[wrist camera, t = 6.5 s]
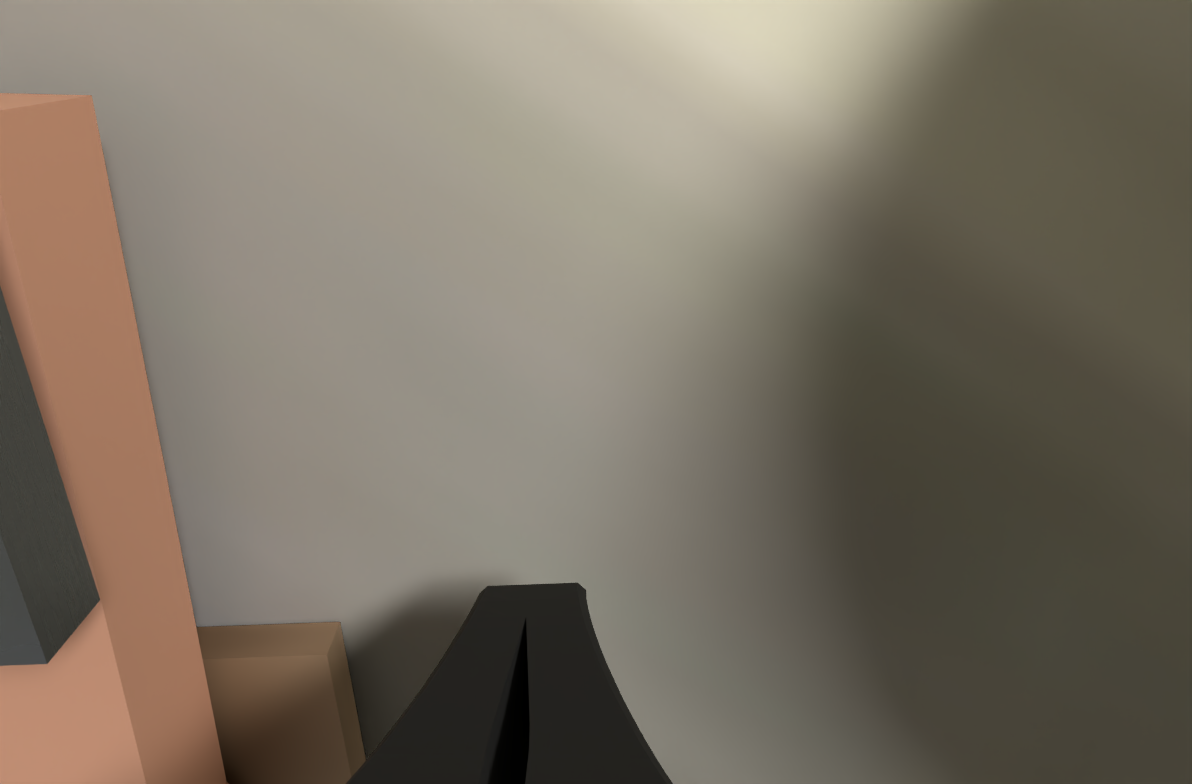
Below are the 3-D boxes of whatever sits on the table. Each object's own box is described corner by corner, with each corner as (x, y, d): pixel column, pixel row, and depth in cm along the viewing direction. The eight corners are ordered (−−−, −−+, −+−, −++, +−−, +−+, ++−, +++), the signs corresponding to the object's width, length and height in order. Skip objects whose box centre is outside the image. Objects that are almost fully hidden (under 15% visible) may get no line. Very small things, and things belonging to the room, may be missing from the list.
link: (281, 918, 16) (211, 1128, 13) (55, 918, 15) (-69, 1129, 13) (135, 96, 10) (-52, 131, 7) (-220, 88, 10) (-557, 119, 7)
